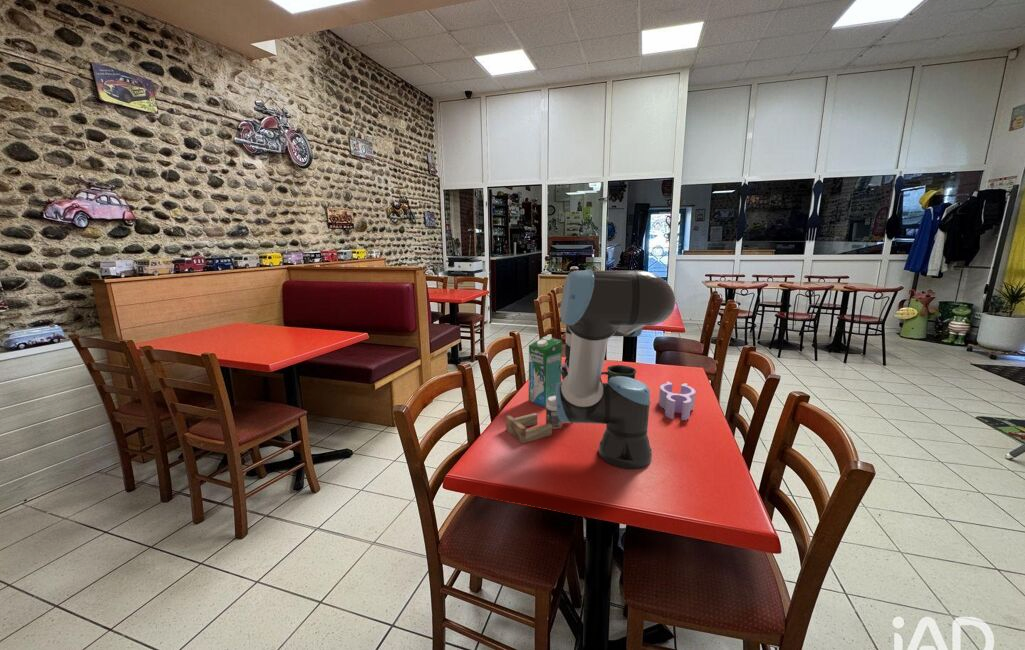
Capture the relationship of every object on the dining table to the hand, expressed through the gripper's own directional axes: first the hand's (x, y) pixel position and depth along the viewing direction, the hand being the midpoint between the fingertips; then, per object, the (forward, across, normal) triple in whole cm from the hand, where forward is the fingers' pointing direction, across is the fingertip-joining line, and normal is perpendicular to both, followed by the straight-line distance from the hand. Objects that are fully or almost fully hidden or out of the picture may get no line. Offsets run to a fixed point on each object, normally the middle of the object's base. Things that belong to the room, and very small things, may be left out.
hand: (574, 408), depth 142 cm
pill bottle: (+4, +9, 0) cm, 10 cm away
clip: (+5, -39, +12) cm, 41 cm away
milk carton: (+5, 0, -18) cm, 19 cm away
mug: (+5, -27, -8) cm, 28 cm away
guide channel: (+4, +18, 0) cm, 19 cm away
